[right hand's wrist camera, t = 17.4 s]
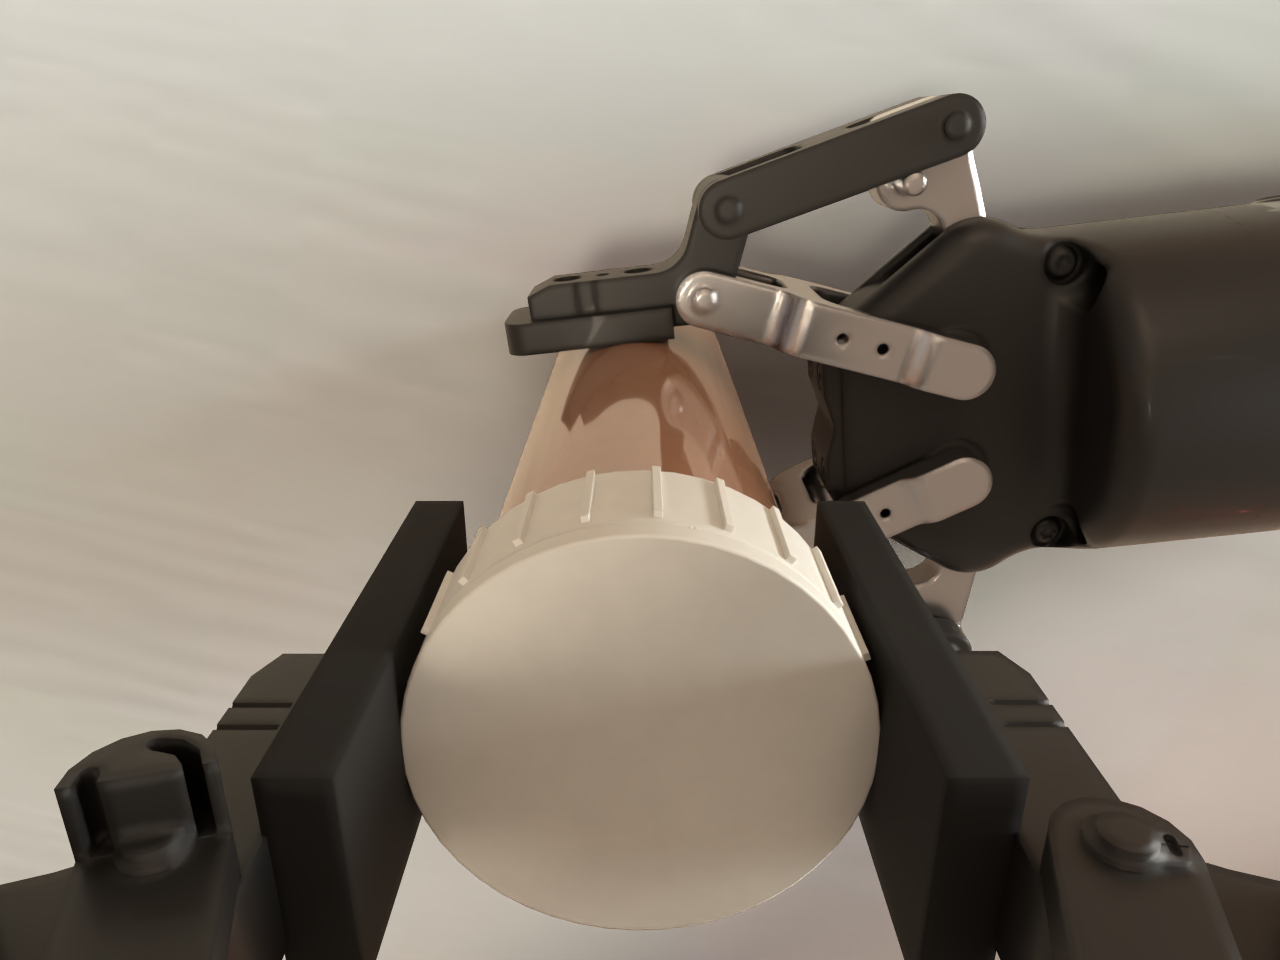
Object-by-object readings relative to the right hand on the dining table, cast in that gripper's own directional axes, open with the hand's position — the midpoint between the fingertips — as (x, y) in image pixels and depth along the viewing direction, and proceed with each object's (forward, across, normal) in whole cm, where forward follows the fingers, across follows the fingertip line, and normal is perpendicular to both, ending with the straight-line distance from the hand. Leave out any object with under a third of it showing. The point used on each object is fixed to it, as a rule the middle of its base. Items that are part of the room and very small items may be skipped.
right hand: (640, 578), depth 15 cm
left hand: (+7, -3, 0) cm, 8 cm away
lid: (-4, 0, 0) cm, 4 cm away
